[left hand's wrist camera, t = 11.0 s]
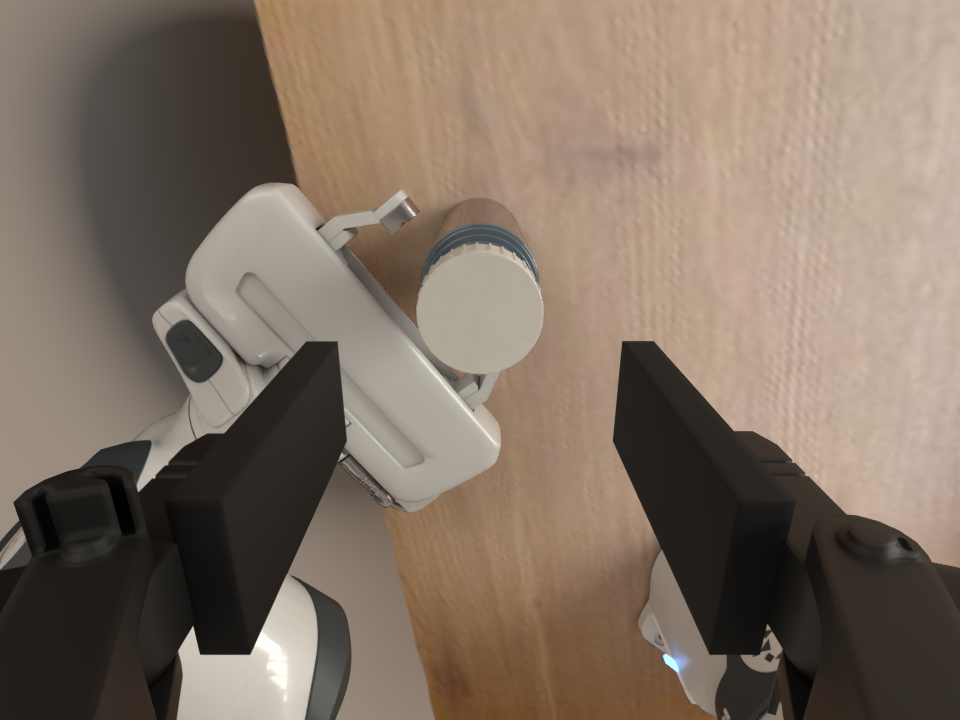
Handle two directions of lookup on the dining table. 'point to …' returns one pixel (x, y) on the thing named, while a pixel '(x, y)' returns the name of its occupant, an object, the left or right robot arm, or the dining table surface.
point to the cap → (479, 309)
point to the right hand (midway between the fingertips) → (466, 270)
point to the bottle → (480, 232)
